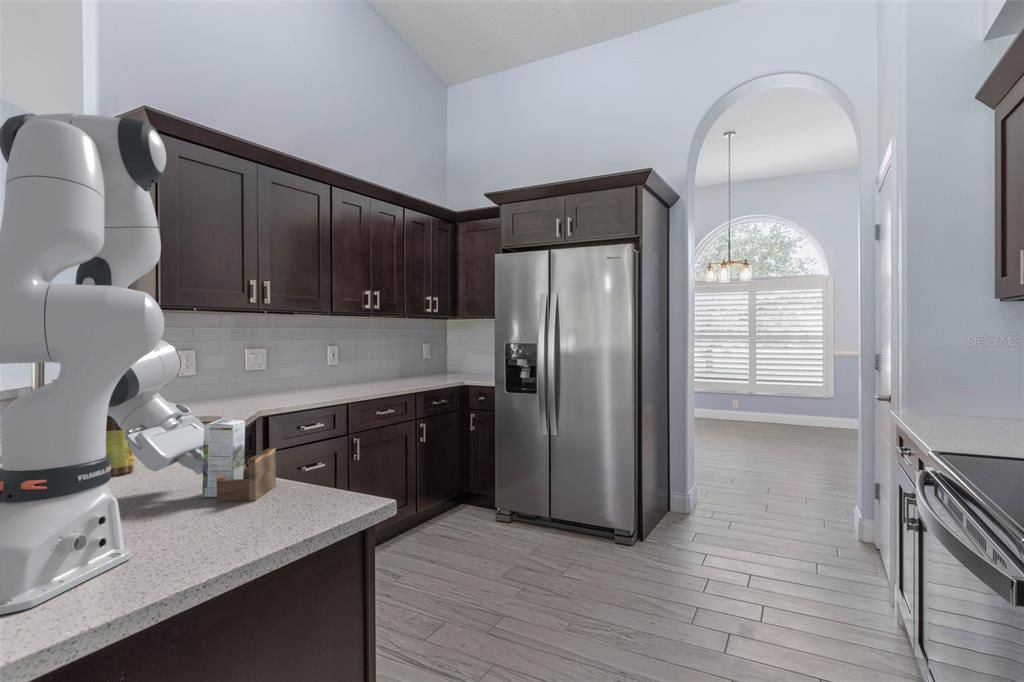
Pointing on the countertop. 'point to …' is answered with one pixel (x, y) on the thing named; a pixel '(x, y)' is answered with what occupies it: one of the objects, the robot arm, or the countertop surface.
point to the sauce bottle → (118, 449)
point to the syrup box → (222, 453)
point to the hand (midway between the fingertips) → (205, 470)
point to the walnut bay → (250, 480)
